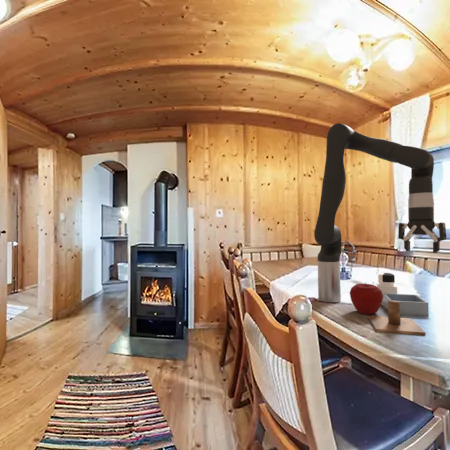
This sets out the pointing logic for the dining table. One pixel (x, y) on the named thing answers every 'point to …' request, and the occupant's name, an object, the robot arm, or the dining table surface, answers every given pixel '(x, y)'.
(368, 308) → the apple
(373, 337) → the dining table surface
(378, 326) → the lid
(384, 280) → the medicine bottle
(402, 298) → the grey open box
